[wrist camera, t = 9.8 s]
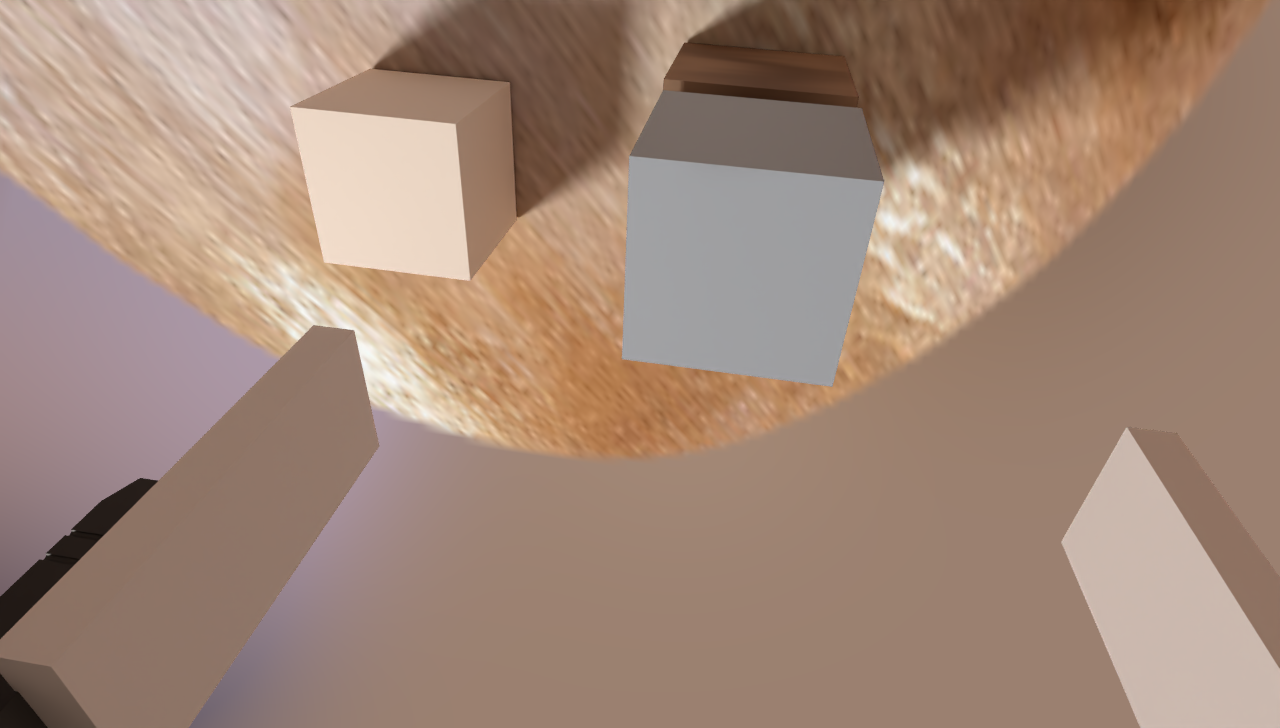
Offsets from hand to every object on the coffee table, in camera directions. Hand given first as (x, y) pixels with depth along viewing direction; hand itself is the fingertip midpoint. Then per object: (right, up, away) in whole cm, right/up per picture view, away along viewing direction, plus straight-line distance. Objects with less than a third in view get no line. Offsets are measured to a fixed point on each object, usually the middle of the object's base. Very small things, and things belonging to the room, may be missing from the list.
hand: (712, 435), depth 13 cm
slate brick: (+2, +7, +11) cm, 13 cm away
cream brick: (-10, +11, +18) cm, 23 cm away
